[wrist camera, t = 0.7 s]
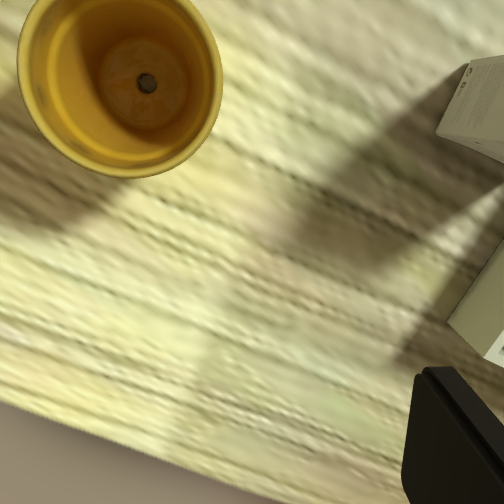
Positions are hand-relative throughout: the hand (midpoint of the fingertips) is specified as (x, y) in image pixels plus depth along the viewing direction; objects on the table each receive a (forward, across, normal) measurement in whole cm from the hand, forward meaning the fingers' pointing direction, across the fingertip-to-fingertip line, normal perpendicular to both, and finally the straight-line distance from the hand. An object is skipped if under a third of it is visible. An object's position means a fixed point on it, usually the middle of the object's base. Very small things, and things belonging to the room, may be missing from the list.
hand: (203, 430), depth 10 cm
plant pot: (+28, +4, -7) cm, 29 cm away
